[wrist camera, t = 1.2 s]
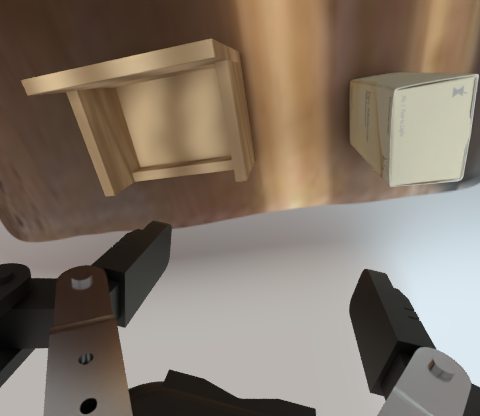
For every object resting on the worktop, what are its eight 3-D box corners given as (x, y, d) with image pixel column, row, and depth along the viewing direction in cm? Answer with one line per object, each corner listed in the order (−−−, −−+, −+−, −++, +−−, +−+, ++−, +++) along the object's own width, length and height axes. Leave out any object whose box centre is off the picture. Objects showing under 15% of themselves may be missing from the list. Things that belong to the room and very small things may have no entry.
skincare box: (348, 79, 27) (390, 83, 16) (400, 71, 26) (482, 68, 15) (349, 146, 29) (386, 189, 18) (396, 140, 28) (465, 181, 17)
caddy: (239, 51, 27) (211, 38, 17) (255, 159, 31) (240, 198, 21) (108, 78, 30) (21, 80, 20) (139, 174, 34) (78, 214, 24)
